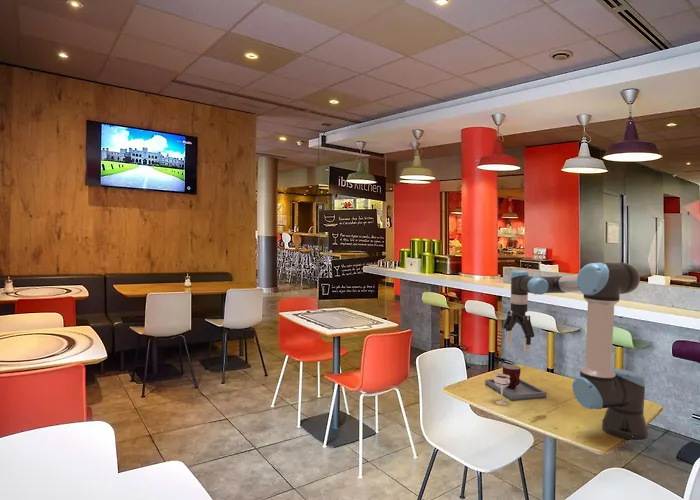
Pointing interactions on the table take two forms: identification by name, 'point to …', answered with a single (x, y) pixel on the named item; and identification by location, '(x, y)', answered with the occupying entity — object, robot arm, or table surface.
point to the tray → (518, 391)
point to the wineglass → (502, 384)
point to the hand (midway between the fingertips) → (517, 347)
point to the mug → (512, 375)
